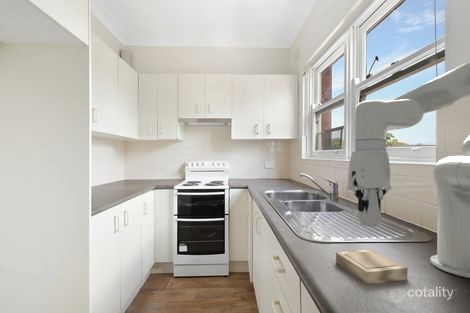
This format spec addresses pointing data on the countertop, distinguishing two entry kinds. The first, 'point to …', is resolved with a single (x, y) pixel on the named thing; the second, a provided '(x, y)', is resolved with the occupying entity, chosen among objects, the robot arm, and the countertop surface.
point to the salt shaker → (370, 211)
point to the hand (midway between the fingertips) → (369, 213)
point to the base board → (371, 266)
